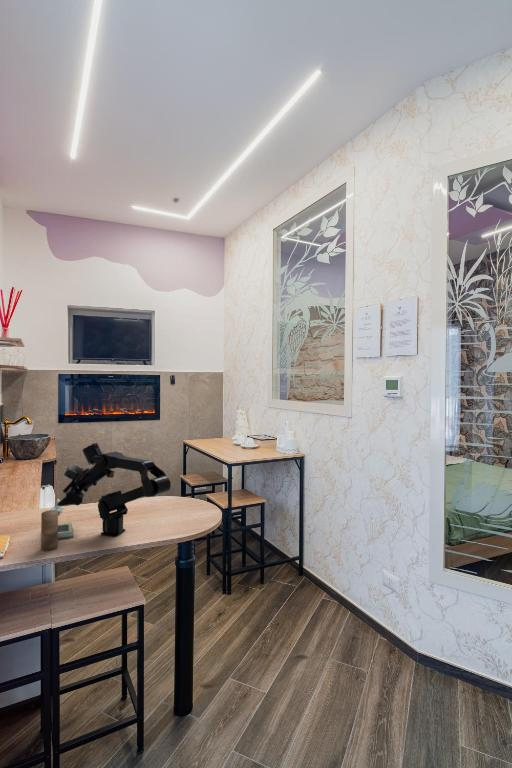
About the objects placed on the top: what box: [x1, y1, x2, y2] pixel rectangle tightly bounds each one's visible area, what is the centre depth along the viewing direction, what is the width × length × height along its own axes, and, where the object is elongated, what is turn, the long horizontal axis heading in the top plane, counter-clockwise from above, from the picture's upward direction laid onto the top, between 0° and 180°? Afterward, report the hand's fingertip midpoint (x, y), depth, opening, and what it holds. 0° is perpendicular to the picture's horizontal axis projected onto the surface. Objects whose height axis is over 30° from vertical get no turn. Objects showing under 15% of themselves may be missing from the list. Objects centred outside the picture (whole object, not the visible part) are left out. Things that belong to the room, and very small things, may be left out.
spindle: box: [40, 509, 59, 552], centre depth 144 cm, size 5×5×12 cm
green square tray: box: [58, 522, 74, 540], centre depth 156 cm, size 10×10×2 cm
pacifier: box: [49, 498, 64, 515], centre depth 178 cm, size 7×6×6 cm
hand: (60, 498), depth 162 cm, fingers open, 9 cm apart
